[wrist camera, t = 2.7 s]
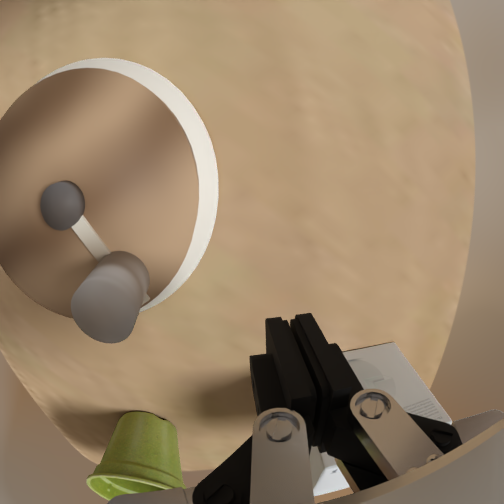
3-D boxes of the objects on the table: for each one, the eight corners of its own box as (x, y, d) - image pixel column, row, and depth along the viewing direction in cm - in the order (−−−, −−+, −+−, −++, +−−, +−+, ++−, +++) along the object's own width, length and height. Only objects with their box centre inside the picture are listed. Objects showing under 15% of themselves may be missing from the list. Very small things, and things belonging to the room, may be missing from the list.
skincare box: (282, 406, 25) (307, 500, 15) (286, 358, 23) (323, 468, 13) (379, 387, 26) (422, 462, 17) (395, 340, 24) (456, 420, 14)
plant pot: (126, 448, 26) (117, 509, 18) (88, 399, 22) (66, 470, 14) (202, 447, 27) (204, 514, 19) (176, 396, 23) (171, 480, 15)
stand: (50, 44, 12) (34, 36, 10) (265, 123, 16) (272, 120, 14) (-8, 249, 16) (-24, 260, 14) (163, 334, 20) (159, 353, 18)
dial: (-31, 185, 12) (-80, 204, 7) (111, 26, 11) (74, -11, 6) (82, 339, 17) (57, 391, 12) (251, 224, 16) (267, 263, 11)
